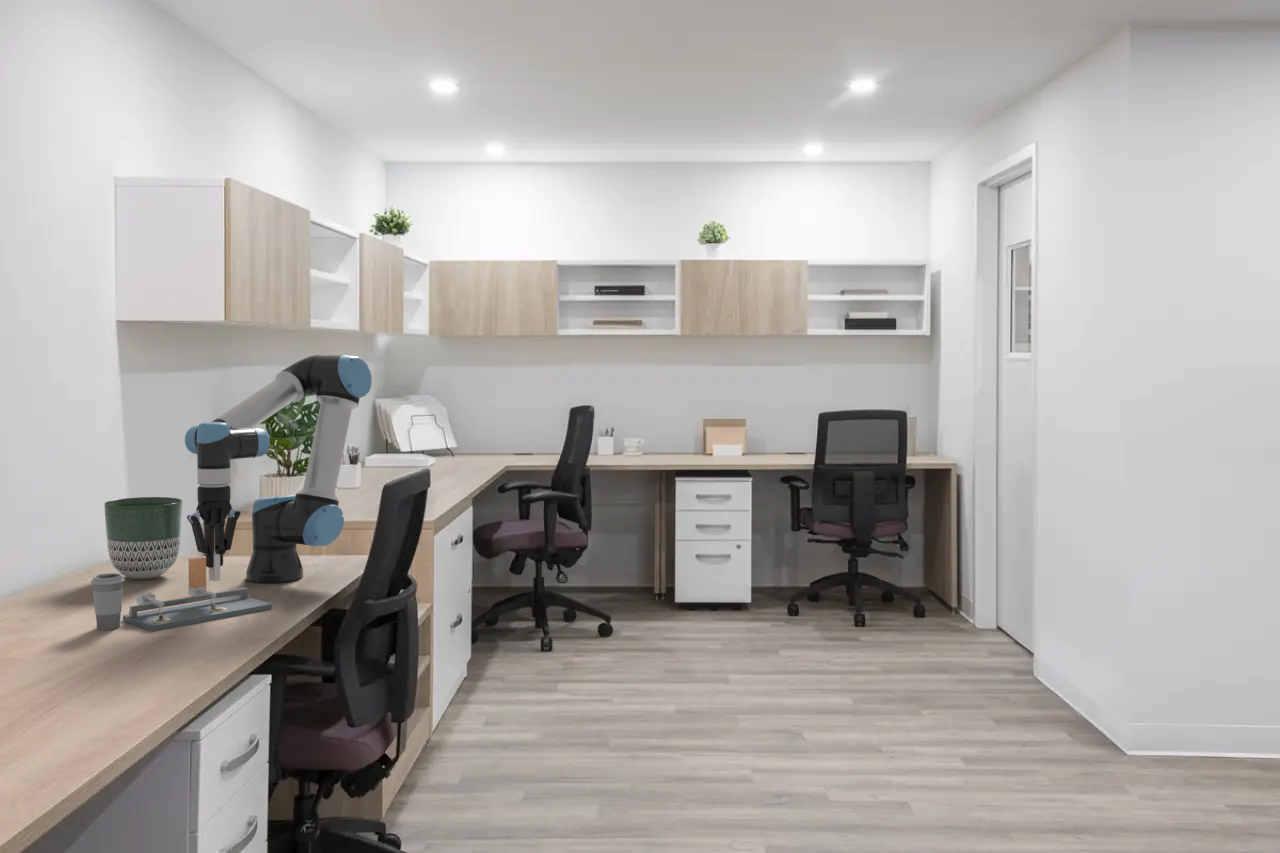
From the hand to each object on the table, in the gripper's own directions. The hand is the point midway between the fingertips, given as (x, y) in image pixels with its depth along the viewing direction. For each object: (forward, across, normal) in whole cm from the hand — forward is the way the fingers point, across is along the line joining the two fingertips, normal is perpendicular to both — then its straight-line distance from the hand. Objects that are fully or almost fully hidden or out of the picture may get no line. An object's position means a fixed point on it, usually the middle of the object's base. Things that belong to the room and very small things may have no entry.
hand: (214, 579), depth 258 cm
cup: (+7, +26, +1) cm, 27 cm away
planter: (+7, -4, -46) cm, 47 cm away
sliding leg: (+5, +4, +3) cm, 8 cm away
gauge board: (+7, +6, +4) cm, 10 cm away
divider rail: (+6, +6, +3) cm, 9 cm away
